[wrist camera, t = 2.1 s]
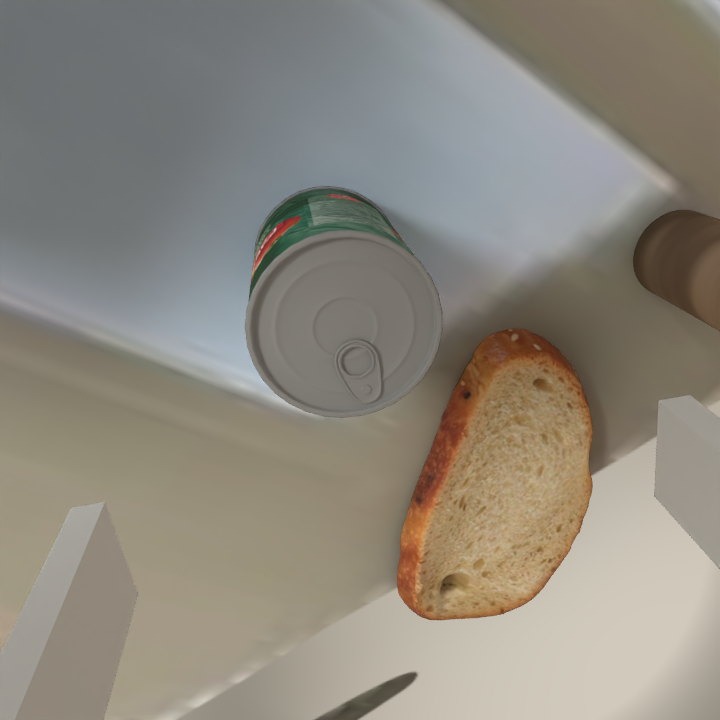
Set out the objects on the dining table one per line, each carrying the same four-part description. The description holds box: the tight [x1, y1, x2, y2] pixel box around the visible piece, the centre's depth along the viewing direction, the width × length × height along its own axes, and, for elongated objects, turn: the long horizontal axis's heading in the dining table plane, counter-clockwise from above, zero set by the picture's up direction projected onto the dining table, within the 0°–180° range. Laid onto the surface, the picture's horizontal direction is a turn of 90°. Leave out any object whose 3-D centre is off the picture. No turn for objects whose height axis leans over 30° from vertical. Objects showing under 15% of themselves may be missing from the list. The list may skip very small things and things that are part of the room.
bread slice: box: [397, 329, 593, 620], centre depth 42 cm, size 18×18×4 cm
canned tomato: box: [245, 186, 442, 418], centre depth 31 cm, size 8×8×11 cm
